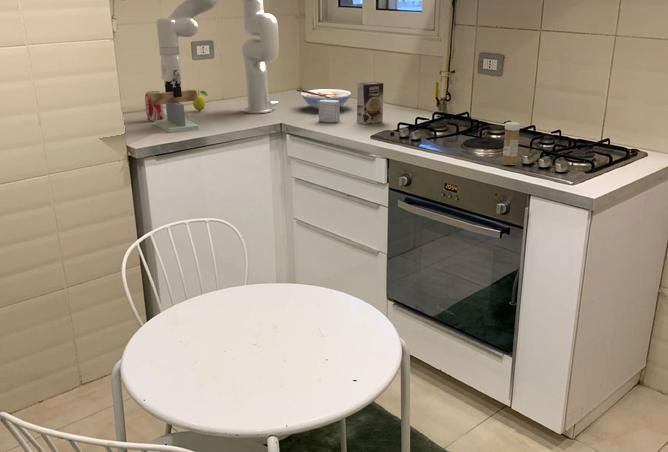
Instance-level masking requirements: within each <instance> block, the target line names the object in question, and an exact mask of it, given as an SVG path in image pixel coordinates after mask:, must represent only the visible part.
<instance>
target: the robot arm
mask: <svg viewBox="0 0 668 452" xmlns="http://www.w3.org/2000/svg"><path fill="white" fill-rule="evenodd" d="M219 1H220V0H184V1H183V2H181V3H180V4H179V5H178V6H177V7H176V8H175V9H174V10H173V12H172V13H171V14H170V15H169V17H167V18H166V17H165V18H163V17H162V18H159V19H157V21H156V28H157V29H156V30H157V31H156V32H157V41H158V48H159V49H158V50H159V56H160V70H161V79H162V81H163V80H164V82H163V83H164V90H165V91H164V92H173V96H174V97H175V98H176V97H182V92H181V91H182V84H181V83H182V81H181V79H182V78H181V67H180V61H179V56H180V47H179V46H180V45H179V37H180V38H181V37H183V38H191V37H193V36H195V35H196V34H197V33H198V31H199V25H198V23H197V21H196V20H195V19H194V17H196V16H199V15H200V14H204V13H206V12H208V11H211V10H213V8H214V7H215V6H216V5H217V4H218V2H219ZM242 4H243V21H244V30H245V33H247V34H248V35H251V36H254V37H255V36H256V37H260V38H250V39H247V40H246V41H244V43H243V45H242V47H241V53H242V57H243V63H244V68H245V83H246V99H247V104H246V105H247V107H246V108H244V109H243V111H244V112H245V113H246V114H256V115H257V114H267V113H271V112H272V111H273V107H275V106H279V104H280V103H279V101H277V100H276V101H275V100H274V101H272V100H269V81H268V69H267V65H266V64H267V63H273V62H275V61H277V59H278V57H279V53H280V52H279V50H280V48H279V47H280V46H279V41H280V40H279V37H280V36H279V24H278V20H277V18H276V17H275V16H274V15H273V14H271V13H268V12H265V9H264V1H263V0H242Z"/></svg>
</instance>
